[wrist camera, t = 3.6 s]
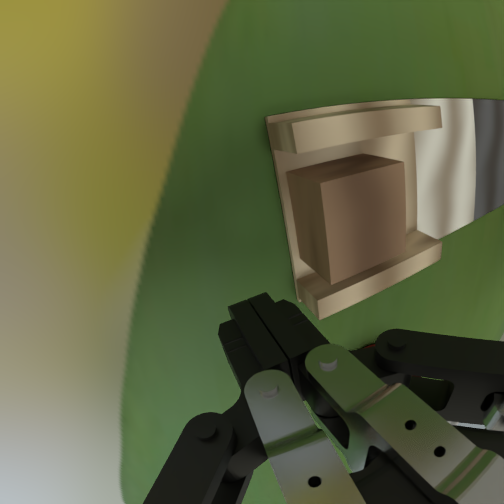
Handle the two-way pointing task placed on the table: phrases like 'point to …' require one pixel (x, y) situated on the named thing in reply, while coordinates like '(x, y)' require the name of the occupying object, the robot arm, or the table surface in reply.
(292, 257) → the corridor track
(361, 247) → the walnut block
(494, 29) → the table surface
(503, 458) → the robot arm
